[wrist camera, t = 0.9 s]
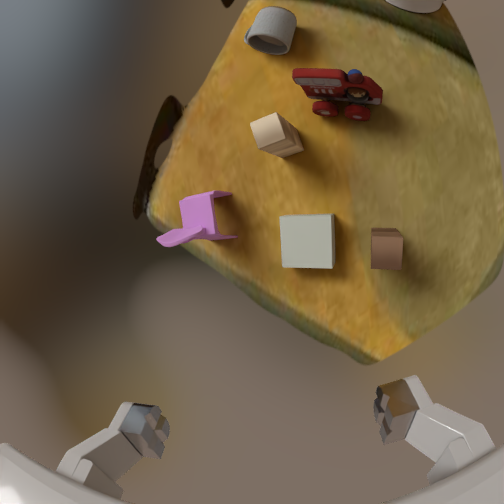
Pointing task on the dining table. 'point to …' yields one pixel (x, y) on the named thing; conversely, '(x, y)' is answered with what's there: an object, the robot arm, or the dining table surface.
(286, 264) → the pedestal block
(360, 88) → the toy fire truck
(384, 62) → the dining table surface
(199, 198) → the toy chair
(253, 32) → the ceramic mug
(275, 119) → the maple block
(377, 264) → the walnut block
